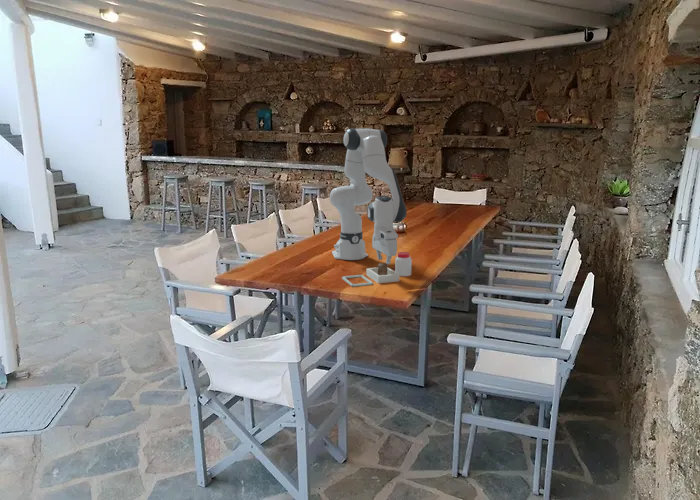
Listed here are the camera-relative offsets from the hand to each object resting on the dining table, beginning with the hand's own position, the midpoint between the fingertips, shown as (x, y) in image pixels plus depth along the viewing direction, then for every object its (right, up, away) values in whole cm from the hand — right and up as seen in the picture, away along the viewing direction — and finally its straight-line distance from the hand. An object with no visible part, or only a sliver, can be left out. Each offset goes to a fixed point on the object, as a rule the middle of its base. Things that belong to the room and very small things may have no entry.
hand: (383, 261), depth 247 cm
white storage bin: (-1, -8, +2) cm, 9 cm away
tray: (-12, -10, -3) cm, 16 cm away
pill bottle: (+10, -7, +9) cm, 15 cm away
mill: (-1, -8, +2) cm, 8 cm away
